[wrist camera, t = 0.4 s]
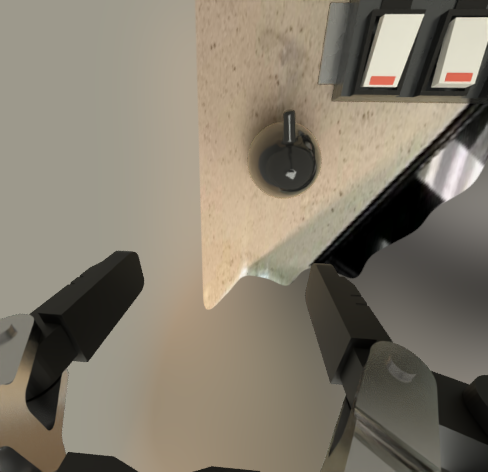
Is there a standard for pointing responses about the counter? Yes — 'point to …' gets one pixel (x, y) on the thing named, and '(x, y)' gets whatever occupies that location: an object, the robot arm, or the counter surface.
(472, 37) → the middle rocker
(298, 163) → the pump dispenser
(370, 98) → the rocker switch box
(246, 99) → the counter surface
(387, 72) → the rocker
